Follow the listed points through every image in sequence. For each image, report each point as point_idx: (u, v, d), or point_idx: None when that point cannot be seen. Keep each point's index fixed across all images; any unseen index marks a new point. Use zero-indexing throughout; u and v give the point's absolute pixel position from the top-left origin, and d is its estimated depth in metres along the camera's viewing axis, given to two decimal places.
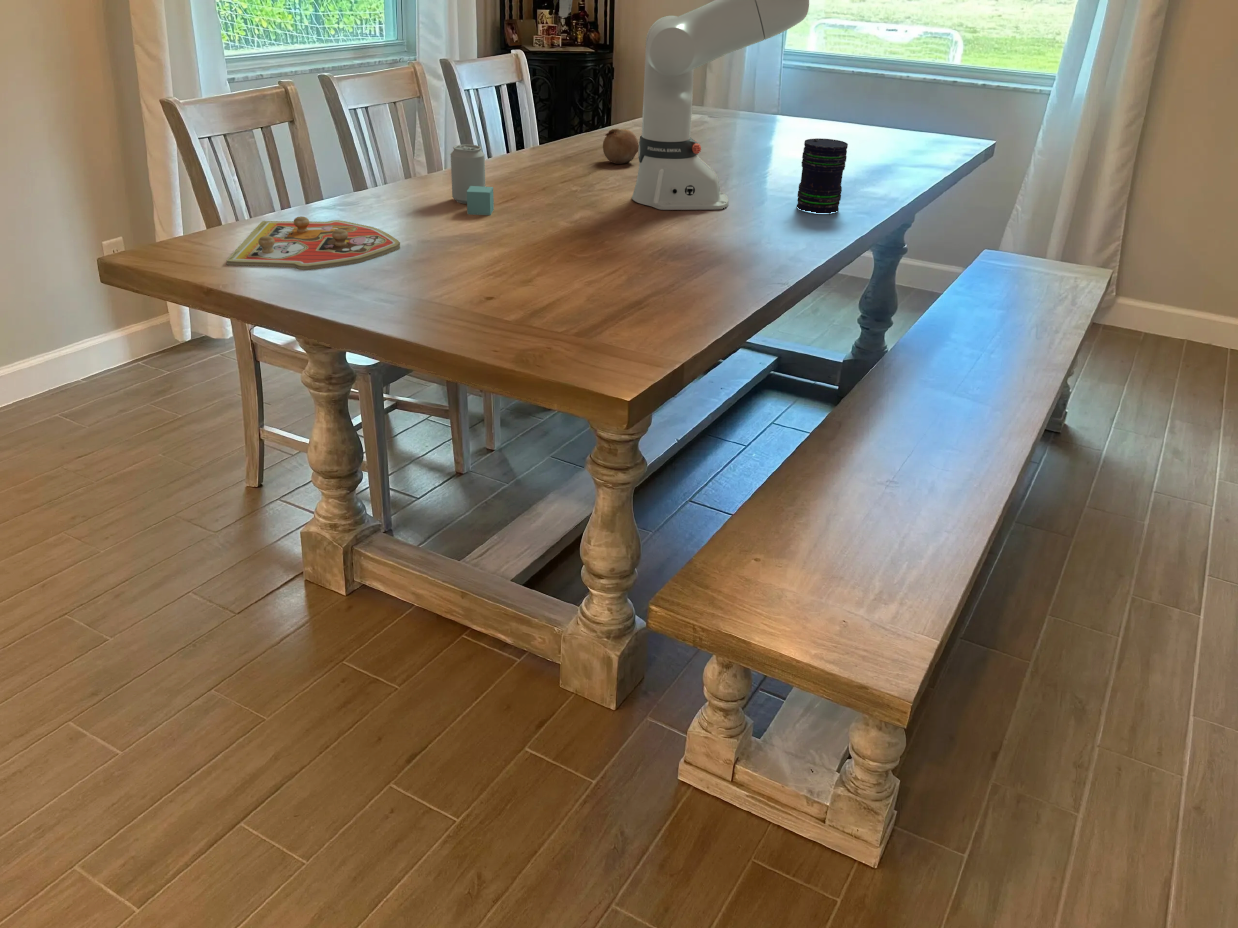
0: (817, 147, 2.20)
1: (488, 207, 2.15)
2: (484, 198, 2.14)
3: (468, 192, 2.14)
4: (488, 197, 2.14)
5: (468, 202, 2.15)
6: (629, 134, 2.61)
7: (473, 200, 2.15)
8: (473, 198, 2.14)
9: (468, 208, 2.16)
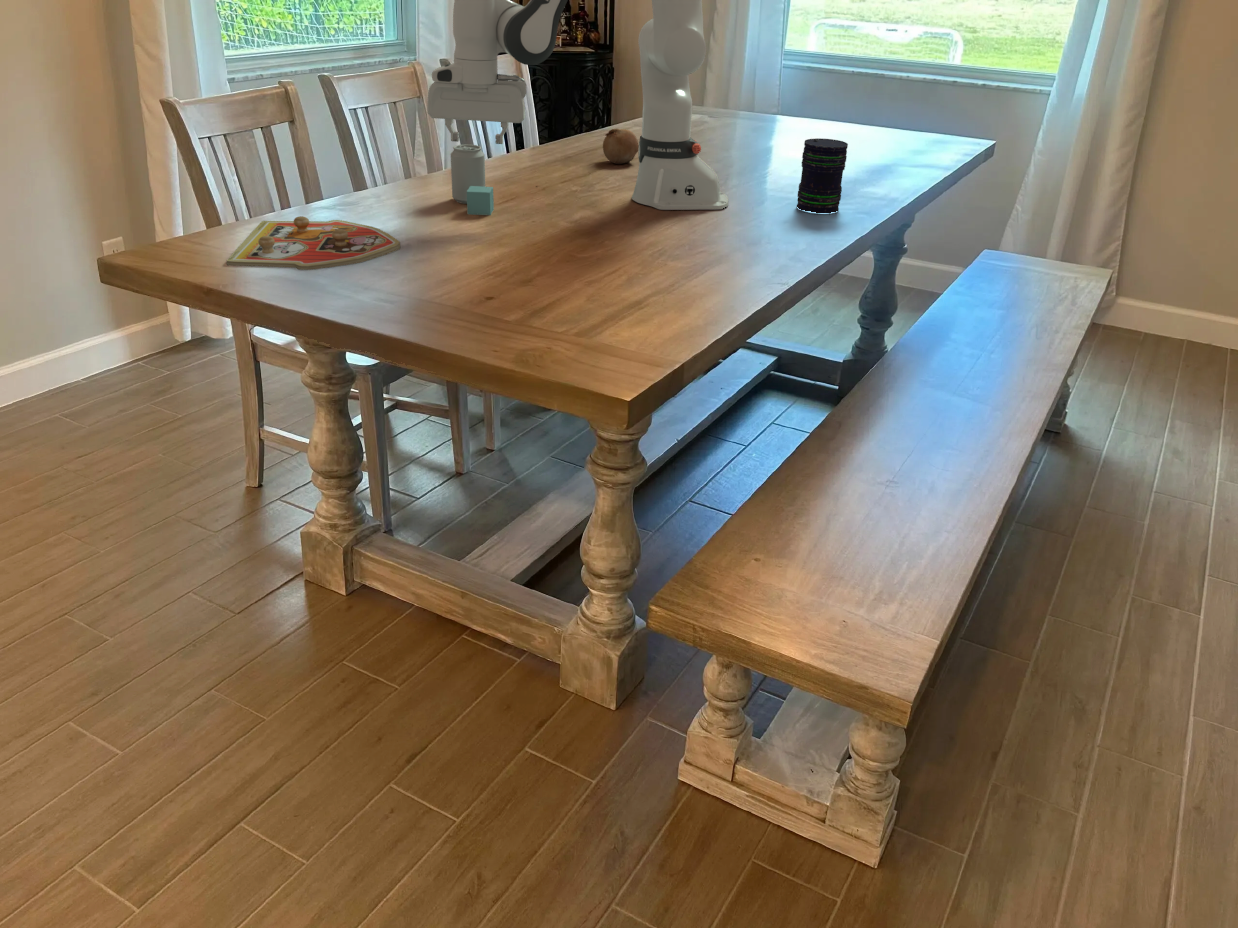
0: (817, 147, 2.20)
1: (488, 207, 2.15)
2: (484, 198, 2.14)
3: (468, 192, 2.14)
4: (488, 197, 2.14)
5: (468, 202, 2.15)
6: (629, 134, 2.61)
7: (473, 200, 2.15)
8: (473, 198, 2.14)
9: (468, 208, 2.16)
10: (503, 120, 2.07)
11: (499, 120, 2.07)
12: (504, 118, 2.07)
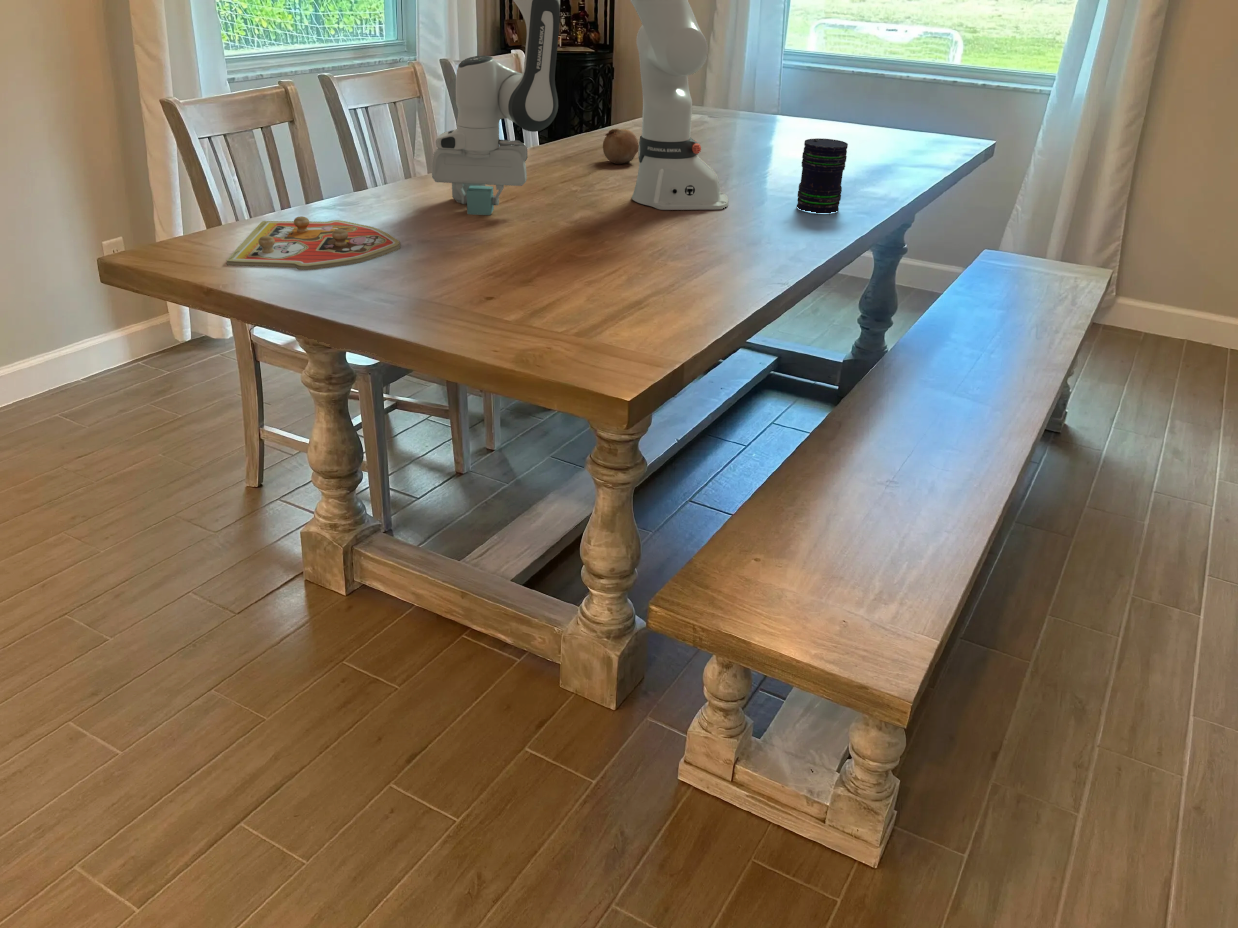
0: (817, 147, 2.20)
1: (488, 206, 2.15)
2: (484, 197, 2.14)
3: (468, 192, 2.14)
4: (488, 196, 2.14)
5: (468, 202, 2.15)
6: (629, 134, 2.61)
7: (473, 200, 2.15)
8: (473, 197, 2.14)
9: (468, 208, 2.16)
10: (505, 183, 2.14)
11: (501, 183, 2.14)
12: (506, 181, 2.13)
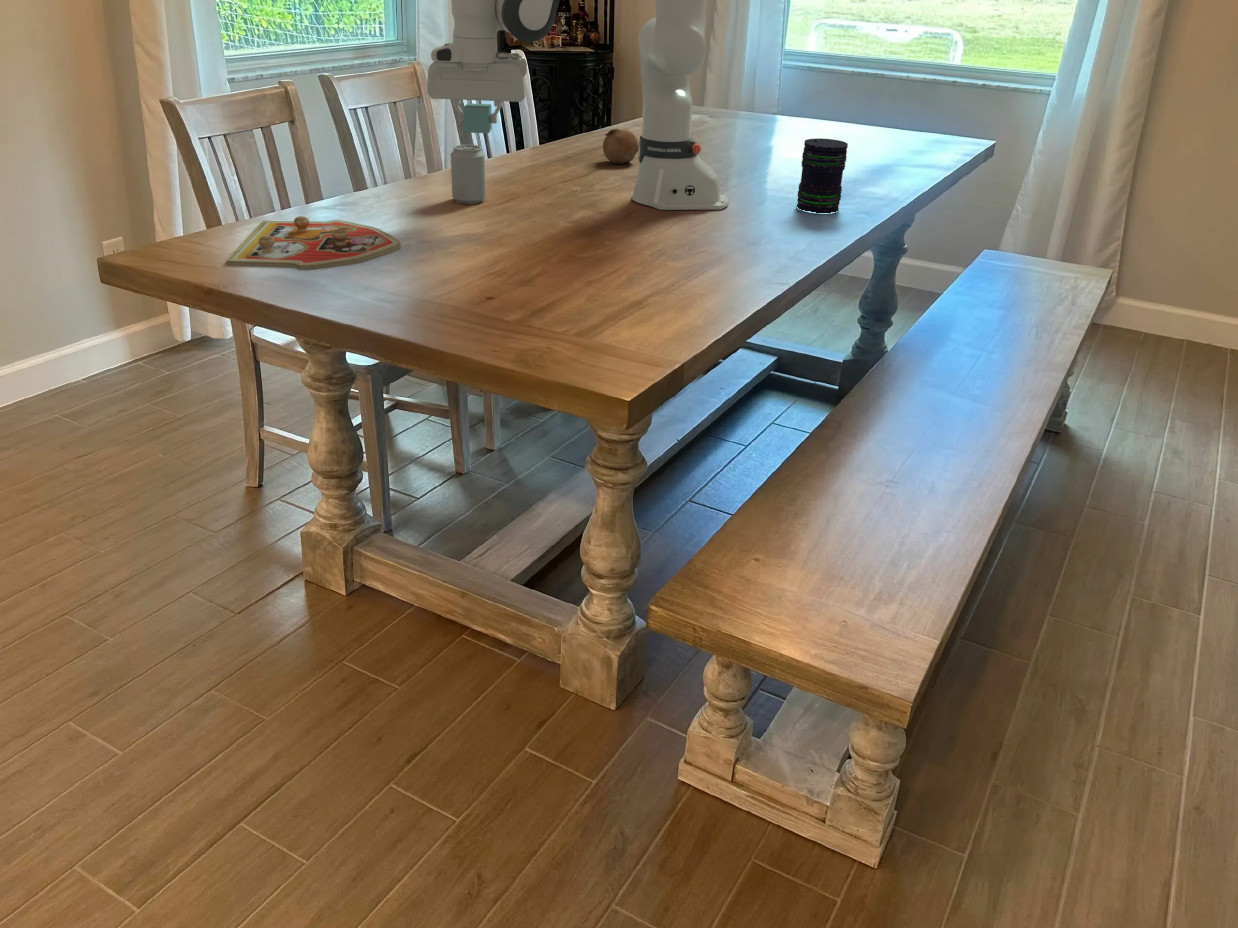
0: (817, 147, 2.20)
1: (486, 124, 2.07)
2: (481, 114, 2.06)
3: (465, 108, 2.06)
4: (486, 113, 2.06)
5: (465, 119, 2.07)
6: (629, 134, 2.61)
7: (470, 117, 2.06)
8: (470, 114, 2.06)
9: (465, 125, 2.07)
10: (504, 99, 2.05)
11: (500, 99, 2.05)
12: (505, 97, 2.05)
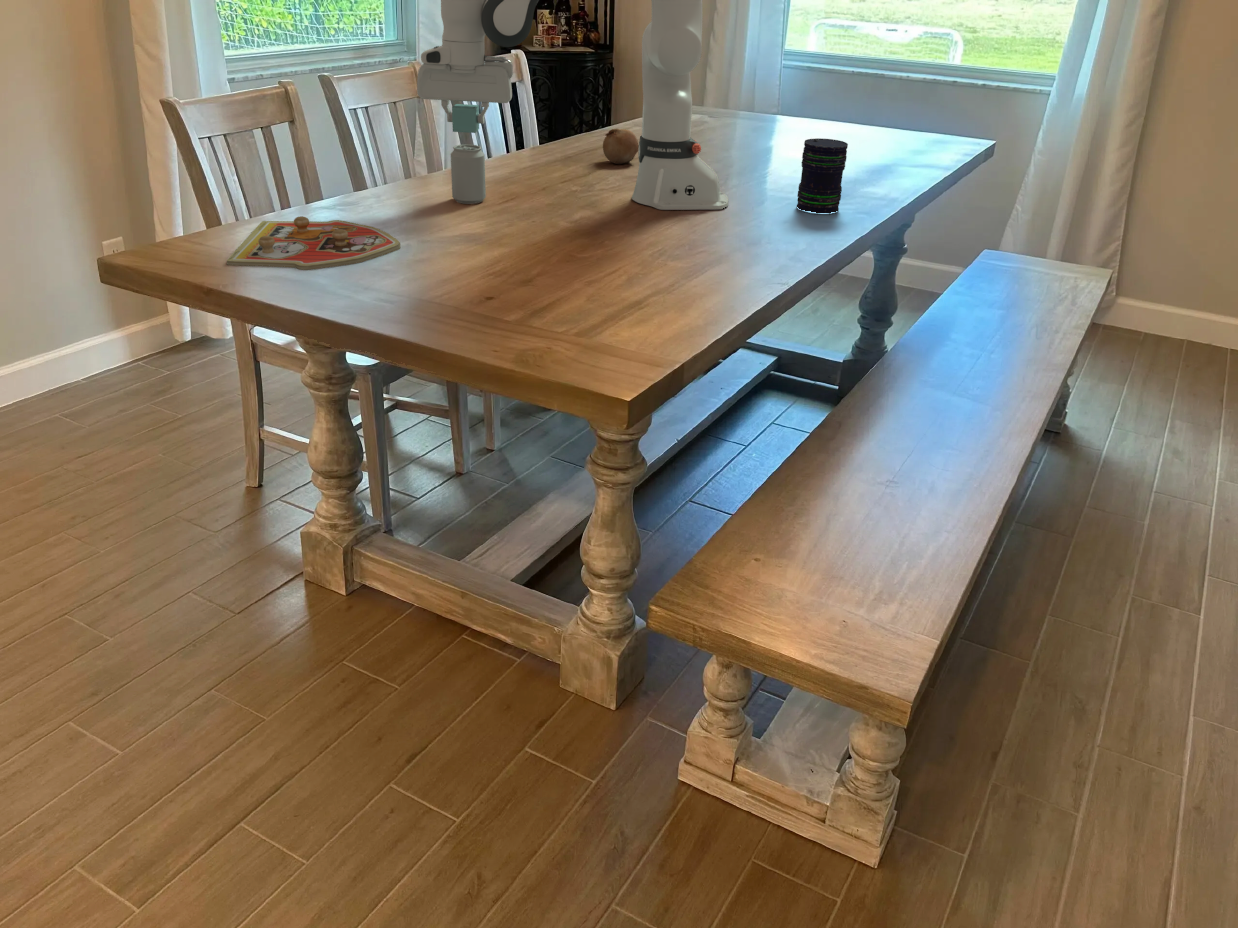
0: (817, 147, 2.20)
1: (473, 124, 2.16)
2: (469, 114, 2.15)
3: (453, 108, 2.14)
4: (473, 114, 2.15)
5: (453, 119, 2.15)
6: (629, 134, 2.61)
7: (458, 117, 2.15)
8: (458, 114, 2.15)
9: (453, 125, 2.16)
10: (490, 100, 2.14)
11: (486, 100, 2.14)
12: (491, 98, 2.14)
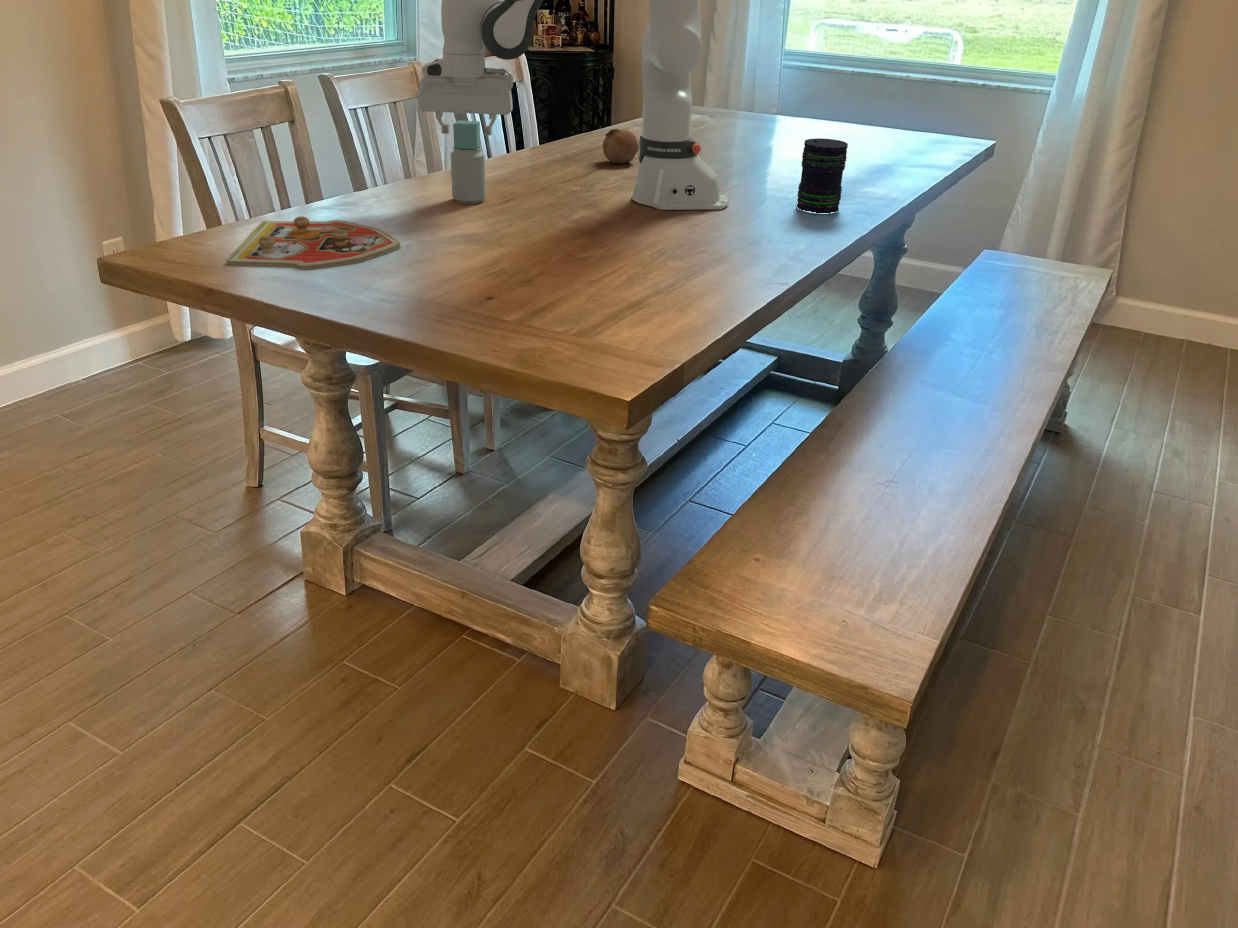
0: (817, 147, 2.20)
1: (474, 140, 2.17)
2: (470, 131, 2.16)
3: (454, 125, 2.16)
4: (474, 130, 2.16)
5: (455, 135, 2.17)
6: (629, 134, 2.61)
7: (460, 134, 2.17)
8: (459, 131, 2.17)
9: (455, 142, 2.18)
10: (491, 112, 2.15)
11: (487, 112, 2.15)
12: (492, 110, 2.15)
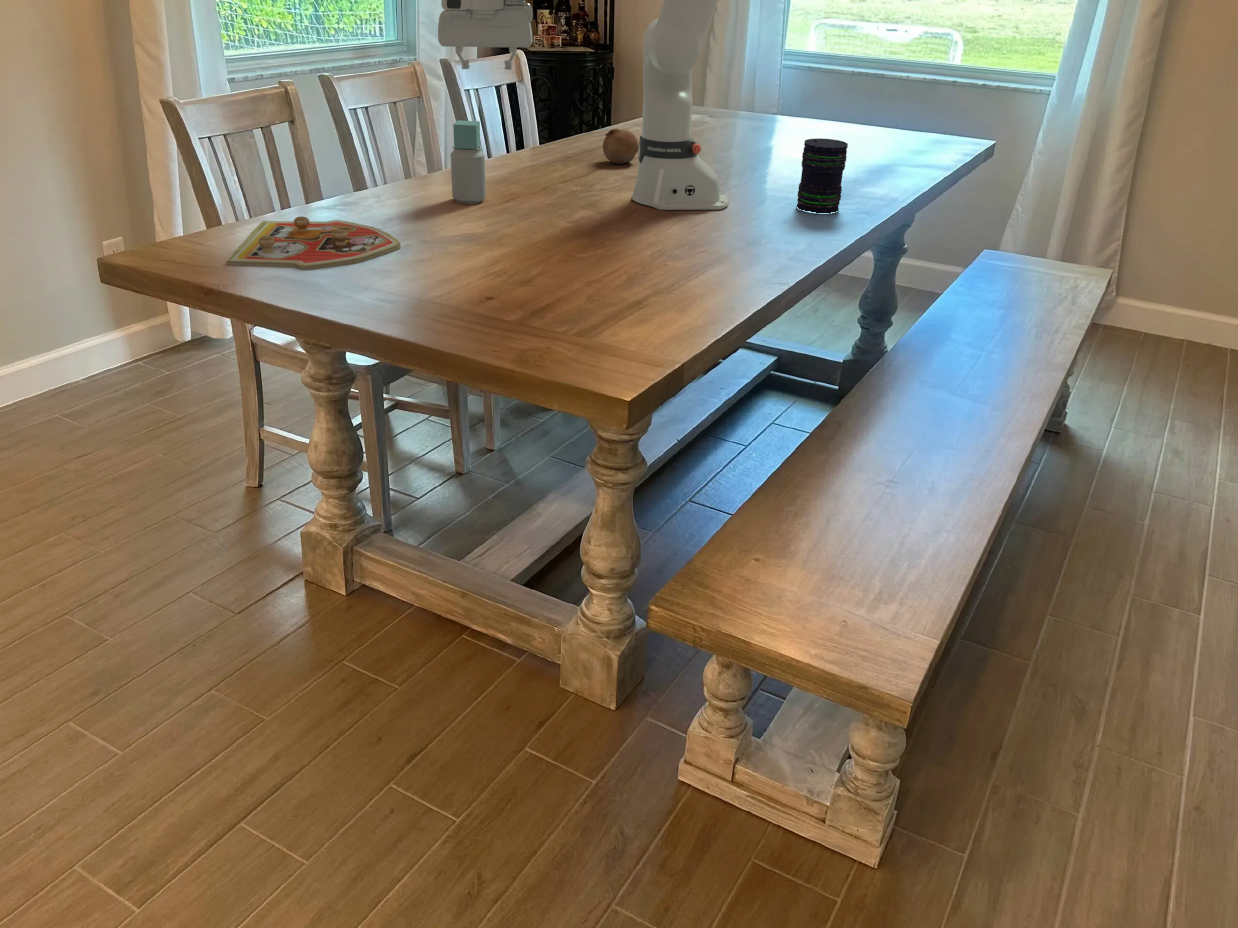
0: (817, 147, 2.20)
1: (474, 140, 2.17)
2: (470, 131, 2.16)
3: (455, 125, 2.16)
4: (474, 130, 2.16)
5: (455, 135, 2.17)
6: (629, 134, 2.61)
7: (460, 134, 2.17)
8: (459, 131, 2.17)
9: (455, 141, 2.18)
10: (511, 45, 2.14)
11: (508, 45, 2.14)
12: (512, 43, 2.14)
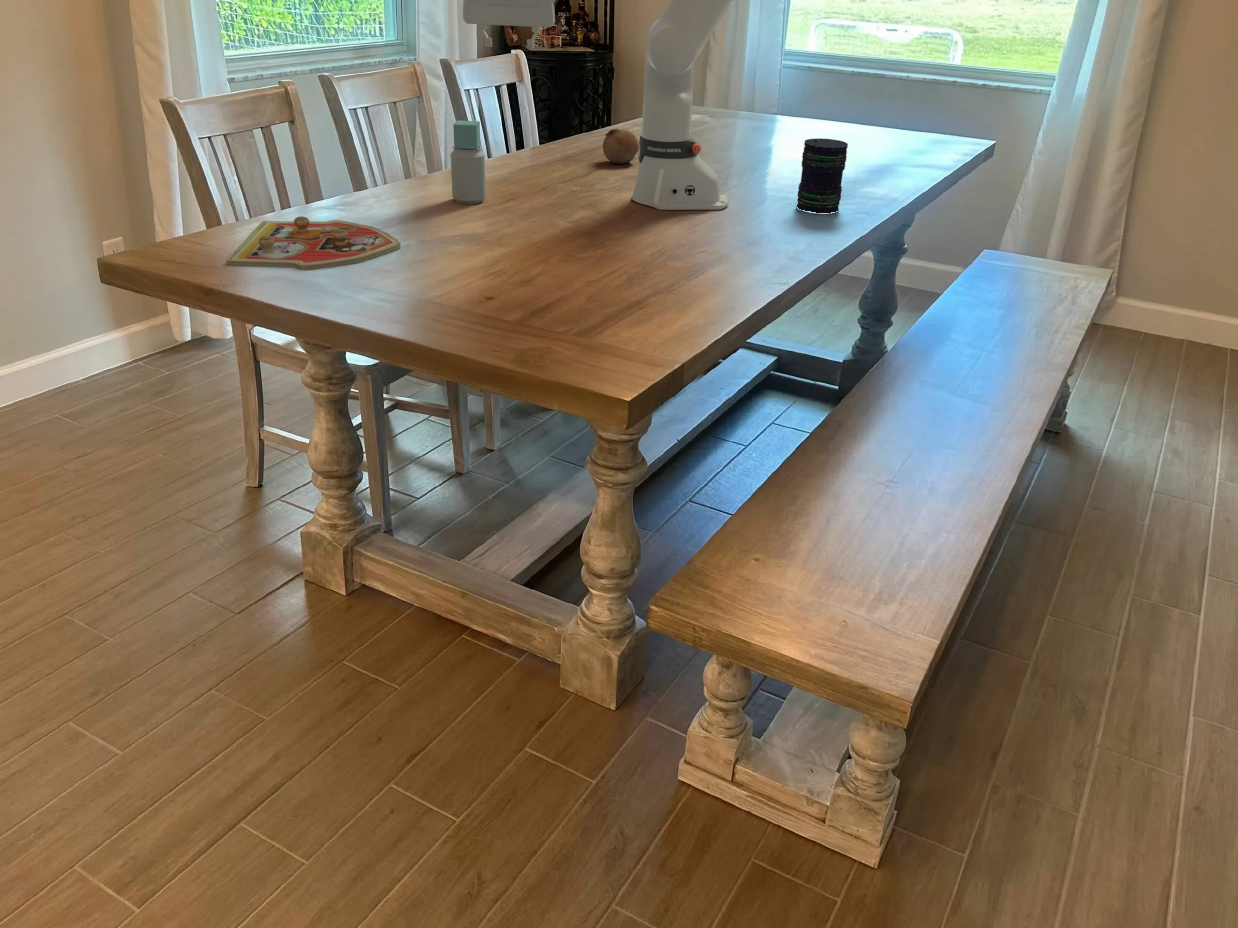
0: (817, 147, 2.20)
1: (475, 140, 2.17)
2: (470, 131, 2.16)
3: (455, 125, 2.16)
4: (474, 130, 2.16)
5: (455, 135, 2.17)
6: (629, 134, 2.61)
7: (460, 134, 2.17)
8: (460, 131, 2.17)
9: (455, 141, 2.18)
10: (534, 24, 2.19)
11: (530, 24, 2.19)
12: (535, 22, 2.19)
